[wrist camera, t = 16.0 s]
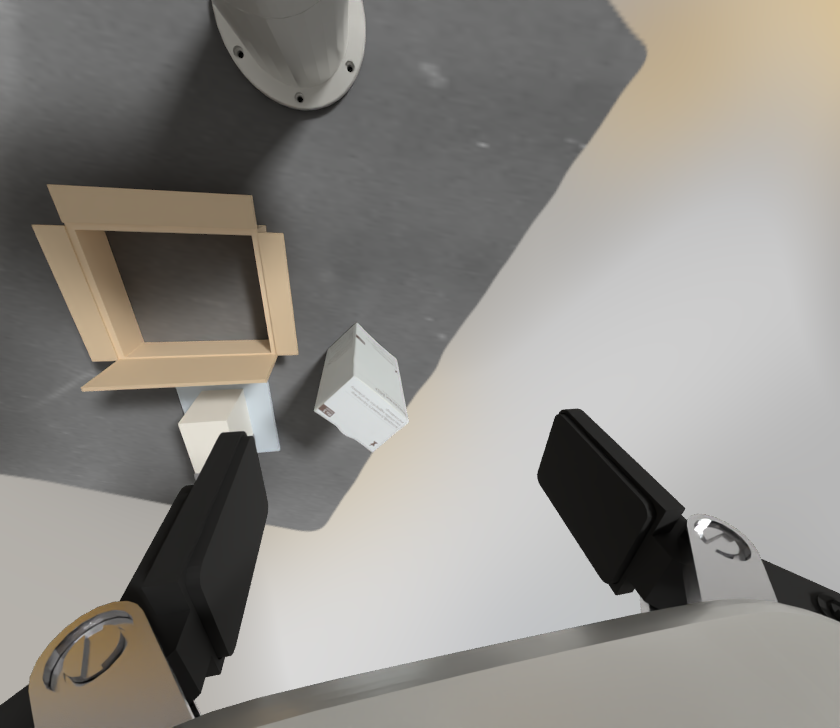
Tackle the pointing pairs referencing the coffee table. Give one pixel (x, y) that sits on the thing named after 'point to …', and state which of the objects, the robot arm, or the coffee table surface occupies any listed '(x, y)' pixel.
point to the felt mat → (257, 408)
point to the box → (213, 422)
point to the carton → (109, 304)
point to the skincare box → (362, 389)
